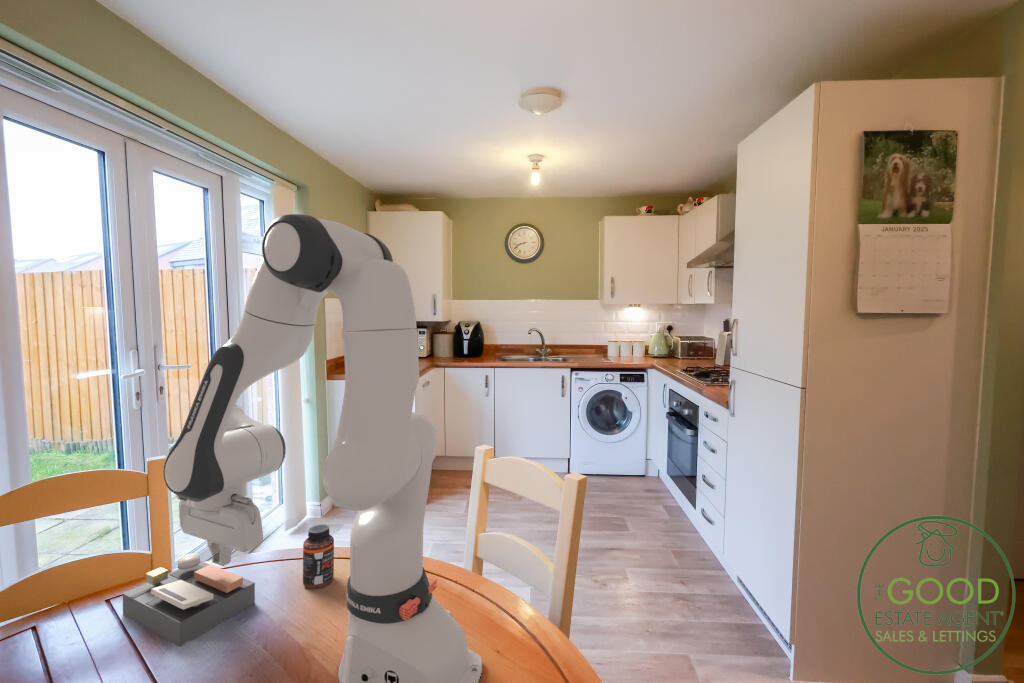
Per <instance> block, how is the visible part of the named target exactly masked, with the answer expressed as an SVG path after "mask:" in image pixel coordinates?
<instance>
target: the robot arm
mask: <svg viewBox="0 0 1024 683" xmlns="http://www.w3.org/2000/svg"><path fill="white" fill-rule="evenodd" d="M261 252H262V259H261V262H260V263H259V266H258V268H257V270H256V272H255V275H254V276H253V279H252V283H251V285H250V287H249V290H248V295H247V298H246V302H245V305H244V310H243V315H242V317H241V320H240V322H239V324H238V326H237V328H236V329H235V331H234V333H233V334H232V335H231V337H230V338H229V339H228V341H227V342H226V343H225V344H223V345H222V346H220V347H218V349H217V350H216V351H215V352H214V353H213V354H212V356H211V358H210V361H209V363H208V364H207V367H206V370H205V372H204V374H203V376H202V379H201V381H200V384H199V387H198V388H197V392H196V394H195V396H194V399H193V402H192V403H191V407H190V410H189V412H188V414H187V418H186V420H185V422H184V424H183V427H182V430H181V433H180V434H179V436H178V438H177V440H176V441H175V443H174V444H173V446H172V448H171V449H170V451H169V452H168V455H167V457H166V459H165V461H164V465H163V479H164V483H165V486H166V487H167V488H168V490H169V491H170V492H171V493H173V494H174V495H176V498H177V500H179V501H178V519H179V526H180V528H181V531H182V533H184V534H187V535H190V536H192V537H196V538H199V539H202V540H205V541H207V545H206V546H207V547H208V550H209V552H210V554H211V562H212V564H216V565H218V566H220V567H225V566H228V565H229V564H231V561H232V553H233V551H234V550H235V551H238V552H240V553H247V552H249V551H251V550H253V549H256V548H258V547H260V545H261V544H262V542H263V541H264V531H263V524H262V516H261V515H262V514H261V512H260V511H261V510H260V509H259V507H258V506H257V505H256V504H255V503H254V502H253V499H252V497H251V498H250V497H248V496H247V495H248V492H247V490H248V485H247V483H250V482H253V481H255V480H258V479H260V478H263V477H265V476H268V475H271V474H272V473H274V472H276V471H278V470H279V469H280V468H281V466H282V465H283V464H284V460H285V458H286V450H287V449H286V448H287V447H286V441H285V437H284V436H283V434H282V432H281V431H280V430H278V428H276V427H275V426H273V425H271V424H264V423H262V422H258V421H257V420H255V419H253V418H251V417H249V416H248V415H247V414H246V413H245V412H244V410H243V409H244V408H242V407H241V406H240V405H238V404H237V402H238V400H239V398H240V397H241V395H242V394H243V393H244V392H245V391H246V390H247V389H249V387H251V386H252V385H253V384H255V383H257V382H258V381H260V380H262V379H263V378H265V377H267V376H269V375H271V374H273V373H275V372H277V371H280V370H282V369H286V368H287V367H289V366H292V365H293V364H294V363H296V362H298V361H299V360H300V359H301V358H302V357H303V356H304V355H305V354H306V352H307V350H308V349H309V346H310V345H311V342H312V340H313V336H314V331H315V327H316V323H317V318H318V312H319V308H320V305H321V302H322V300H323V298H324V297H325V296H326V295H328V294H330V293H332V294H333V295H335V297H336V298H337V299H338V301H339V303H340V306H341V313H342V332H343V333H342V334H343V335H342V336H343V352H344V354H343V356H344V375H345V376H344V377H345V378H344V392H343V393H344V394H343V400H342V407H341V410H340V411H341V412H340V416H339V422H338V427H337V429H336V430H337V431H336V436H335V438H334V441H333V444H332V447H331V449H330V450H329V453H328V454H327V456H326V458H325V460H324V463H323V466H322V472H321V473H322V484H323V485H324V486H323V487H324V489H325V491H326V493H327V495H328V497H329V498H330V499H331V500H332V501H333V502H334V503H335V504H337V505H338V506H339V507H341V508H343V509H345V510H347V511H348V510H349V511H354V512H357V513H356V516H355V518H354V520H353V522H352V525H351V531H350V538H349V539H350V541H349V542H350V546H349V547H350V548H349V549H350V550H349V551H350V552H349V553H350V554H349V558H350V560H349V561H350V565H349V566H350V568H349V569H350V570H349V571H350V574H349V577H348V579H347V586H346V590H347V591H345V593H346V594H345V596H346V608H347V610H348V620H347V629H346V635H345V642H344V643H345V644H344V648H343V649H344V650H343V654H342V657H341V661H340V664H339V666H338V667H339V668H338V673H337V676H338V681H339V683H477V682H478V681H479V679H480V676H481V677H482V675H481V673H482V674H483V661H482V657H481V656H480V655H479V654H477V653H476V652H474V651H472V650H471V649H469V648H468V644H467V638H466V637H467V636H466V634H465V630H464V629H463V627H462V626H461V625H460V624H459V623H458V621H456V620H455V619H454V616H453V613H452V612H451V611H450V610H448V609H445V608H444V607H443V606H442V605H441V603H440V602H439V601H438V600H437V599H436V598H435V597H434V596H433V592H434V591H435V590H436V589H437V588H438V585H436V584H438V583H437V582H438V580H437V579H436V580H434V581H433V582H432V583H431V584H430V583H429V579H428V575H427V572H426V570H425V568H424V561H423V560H424V525H425V517H426V516H425V515H426V508H427V503H428V497H429V491H430V485H431V484H430V482H431V477H432V476H431V475H432V468H433V460H434V454H435V451H436V447H437V443H438V436H437V435H438V434H437V430H436V427H435V426H434V425H435V424H433V422H432V421H431V420H430V419H429V418H428V417H427V416H425V415H423V414H422V413H419V412H414V411H413V407H414V401H415V395H416V391H417V390H416V389H417V387H418V384H419V380H420V363H419V362H420V361H419V347H418V346H419V345H418V344H419V343H418V330H417V317H416V309H415V302H414V297H413V296H414V295H413V293H412V287H411V283H410V281H409V277H408V273H407V272H406V271H405V269H404V268H403V267H402V266H401V265H399V264H398V263H396V262H394V259H393V256H392V254H391V251H390V249H389V248H388V247H387V245H386V244H385V243H384V242H383V241H382V240H380V239H378V238H377V237H376V236H374V235H373V234H370V233H365V232H362V231H359V230H357V229H354V228H353V227H350V226H348V225H346V224H343V223H341V222H337V221H333V220H328V219H321V218H318V217H317V218H315V217H314V216H312V215H308V214H299V213H291V214H283V215H280V216H278V217H277V218H275V219H274V220H272V222H270V224H269V226H267V228H266V230H265V232H264V234H263V238H262V243H261ZM473 671H476V672H473ZM480 680H481V679H480ZM479 682H480V681H479Z"/></svg>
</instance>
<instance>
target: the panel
mask: <svg viewBox="0 0 1024 683" xmlns="http://www.w3.org/2000/svg"><path fill="white" fill-rule="evenodd" d="M208 565H210V563H207V562H205V561H203V560H200V563H199V564H198V565H197V566H195V567H193V568H189V569H183V570H182V569H178V568H177V569H176V570H172V571H171V572H168V579H166V580H163V581H161V584H160V585H158V586H154V585H152V584H150V583H148V582H145V583H143V584H141V585H139V586H136V587H134V588H132V589H130V590H128V591H125V592H123V593H122V616H124V617H126V618H127V619H129V620H131V621H133V622H134V623H136V624H139V625H140V626H141V627H143V628H145V629H147V630H149V631H151V632H152V633H154V634H157V635H158V636H160V637H162V638H164V640H165V639H166V640H167V641H169V642H171V643H172V644H174V645H175V646H178V647H182V646H184V645H185V644H186V643H188V642H190V641H192V640H194V639H196V638H197V637H199V636H200V635H203V634H204V633H206V632H207V631H210V630H211V629H212V628H215V627H216V626H218V625H220V624H221V623H224V622H225V621H226V620H228V619H230V618H232V617H233V616H235V615H237V614H239V613H240V612H242V611H244V610H246V609H247V608H249V607H251V606H252V605H254V604H255V603H256V600H255V599H256V592H255V591H256V589H255V588H256V583H255V582H254V581H252V580H250V579H247V578H244V577H243V585H241V586H239V587H237V588H235V589H234V590H232V591H230V592H228V593H225V592H223V591H221V590H218V589H216V588H214V587H211V586H209V585H207V584H205V583H202V582H200V581H198V580H195V579H194V572H195V571H197V570H199V569H202V568H204V567H206V566H208ZM178 580H183V581H185V582H187V583H189V584H192V585H194V586H196V587H198V588H201V589H203V590H205V591H207V592H209V593H212V594H213V599H212V600H209V601H206V602H203V603H200V606H197V607H193V606H192V607H189V608H186V609H184V610H183V609H181V608H179V607H177V606H175V605H173V604H171V603H169V602H167V601H165V600H163V599H161V598H159V597H157V596H155V595H153V594H151V589H152V588H155V587H159V586H162V585H165V584H168V583H172V582H175V581H178Z"/></svg>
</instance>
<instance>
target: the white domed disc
mask: <svg viewBox="0 0 1024 683" xmlns="http://www.w3.org/2000/svg"><path fill="white" fill-rule="evenodd" d="M200 561H201V554H200V553H198V552H191V553H187V554H184V555H182V556H180V557H179V558H177V570H178V569H182V570H183V569H189V568H193V567H195V566H197V565H198V564H199V563H200Z"/></svg>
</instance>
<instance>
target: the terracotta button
mask: <svg viewBox="0 0 1024 683" xmlns="http://www.w3.org/2000/svg"><path fill="white" fill-rule="evenodd" d="M209 564H210V563H209ZM243 578H244V577H243V576H240V575H238V574H236V573H234V572H231V571H228V570H226V569H223V568H221V567H219V566H216V565H213V564H212V563H211V564H210V565H208V566H206V567H204V568H202V569H199V570H197V571H195V572H194V579H195V580H198V581H200V582H202V583H205V584H207V585H209V586H211V587H214V588H216V589H218V590H221V591H223V592H225V593H228V592H230V591H232V590H234V589H235V588H237V587H239V586H241V585H243Z"/></svg>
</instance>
